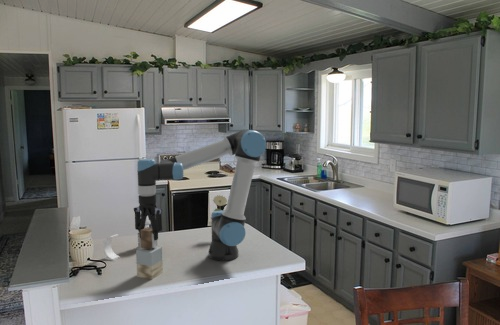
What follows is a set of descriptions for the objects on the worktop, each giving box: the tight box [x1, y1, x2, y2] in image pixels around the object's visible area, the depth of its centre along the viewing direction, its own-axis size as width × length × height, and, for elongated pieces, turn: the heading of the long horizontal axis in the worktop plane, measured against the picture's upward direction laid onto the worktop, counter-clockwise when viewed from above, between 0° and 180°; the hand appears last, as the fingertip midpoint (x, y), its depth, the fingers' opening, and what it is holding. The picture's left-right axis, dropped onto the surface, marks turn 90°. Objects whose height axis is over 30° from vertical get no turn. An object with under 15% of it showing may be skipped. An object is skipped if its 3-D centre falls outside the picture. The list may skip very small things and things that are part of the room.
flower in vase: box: [212, 194, 228, 212], centre depth 234 cm, size 13×11×25 cm
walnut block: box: [140, 226, 153, 249], centre depth 180 cm, size 5×5×8 cm
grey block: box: [135, 245, 163, 266], centre depth 180 cm, size 8×8×6 cm
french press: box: [135, 219, 151, 250], centre depth 216 cm, size 10×12×25 cm
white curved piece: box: [102, 233, 121, 261], centre depth 201 cm, size 5×6×12 cm
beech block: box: [136, 259, 164, 280], centre depth 181 cm, size 8×8×6 cm
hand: (149, 246), depth 180 cm, fingers open, 5 cm apart
